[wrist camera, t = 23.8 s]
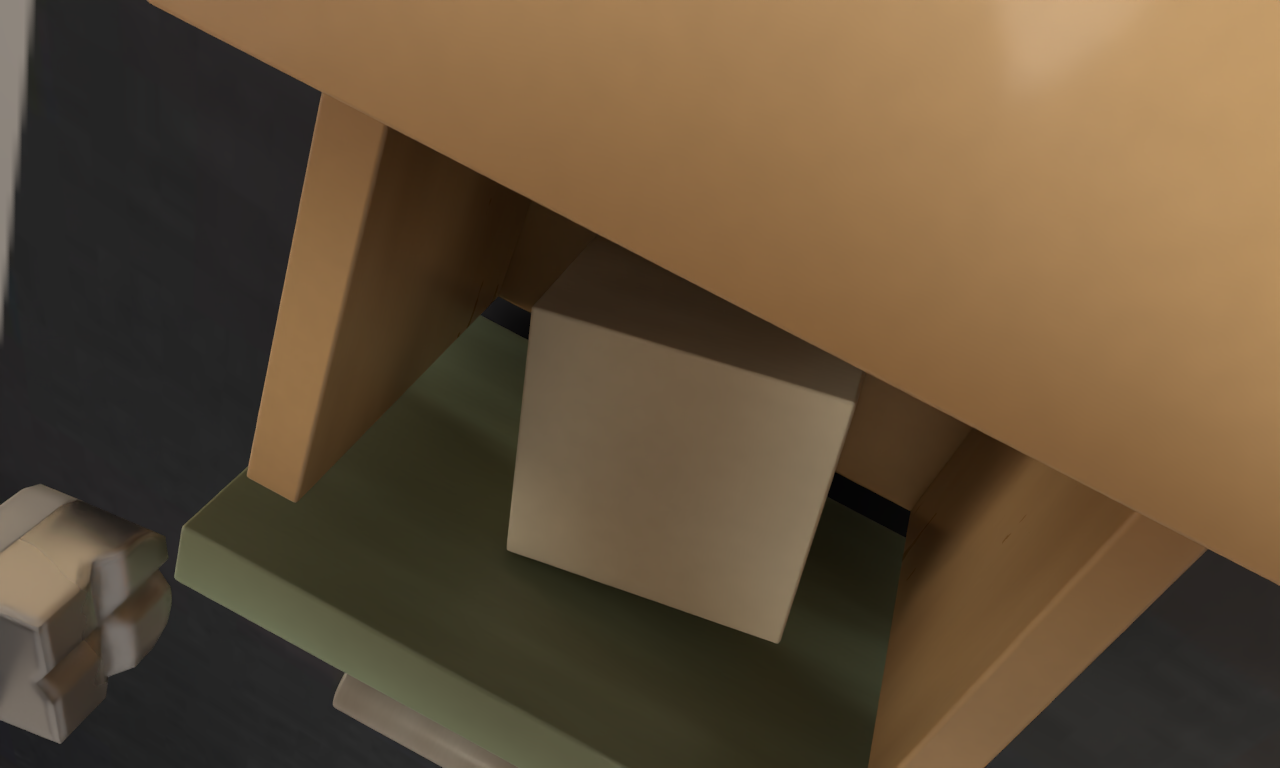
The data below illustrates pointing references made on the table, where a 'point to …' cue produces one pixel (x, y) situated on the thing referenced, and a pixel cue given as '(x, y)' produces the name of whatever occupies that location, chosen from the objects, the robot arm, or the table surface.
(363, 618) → the drawer
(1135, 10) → the cabinet
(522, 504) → the block
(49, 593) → the robot arm
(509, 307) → the table surface
